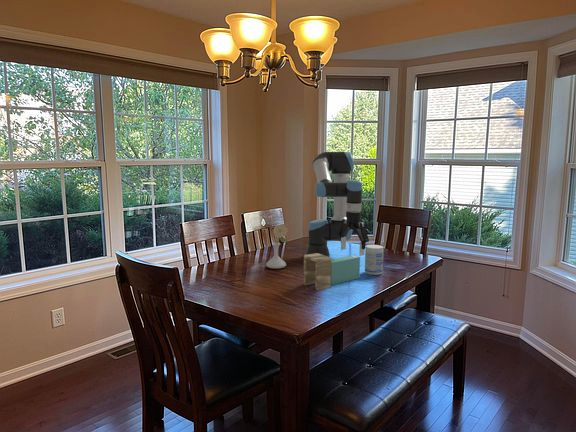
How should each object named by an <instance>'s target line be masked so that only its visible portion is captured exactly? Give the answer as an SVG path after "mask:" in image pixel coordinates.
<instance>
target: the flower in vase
mask: <svg viewBox="0 0 576 432" xmlns="http://www.w3.org/2000/svg"><path fill="white" fill-rule="evenodd" d="M288 232H289V229H288V228H287V226H286V225H284V224H282V223H281V224H277V225H275V226H274V228H273V230H272V233H273V236H274V237H276V238H278V239H279V240H277V239H275V238H273V240H274V241H276V242H272V243H271V245H272V246H273V257H272V258H270V259H269V260H268V261H267V262H266V264H265V266H266V267H267V268H270V269H284V268H285V267H286V266H287V263H286V262H285V260H283V259H282V258H281V257H280V256H279V249H280V248H279V247H280V246H281V243H280V242H282V243H286V242H288V240H287V239H286V238H285V237H286V236H287V234H288Z"/></svg>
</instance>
